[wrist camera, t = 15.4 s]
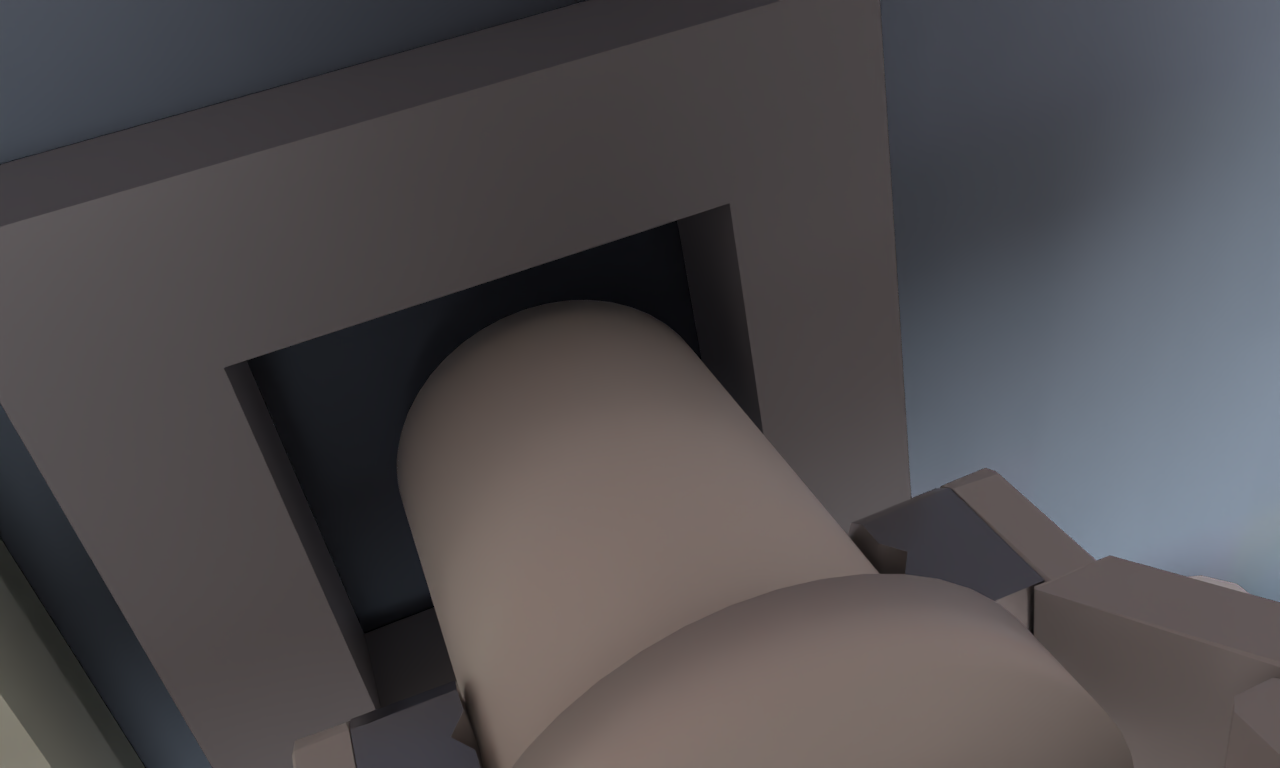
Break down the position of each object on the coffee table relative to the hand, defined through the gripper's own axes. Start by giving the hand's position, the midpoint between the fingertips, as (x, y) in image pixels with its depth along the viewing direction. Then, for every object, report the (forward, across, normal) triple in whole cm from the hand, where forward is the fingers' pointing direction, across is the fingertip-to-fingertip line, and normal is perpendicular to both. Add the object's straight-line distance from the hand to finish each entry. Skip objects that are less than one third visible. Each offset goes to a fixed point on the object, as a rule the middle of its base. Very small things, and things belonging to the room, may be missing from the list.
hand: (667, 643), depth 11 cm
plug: (+4, 0, 0) cm, 4 cm away
